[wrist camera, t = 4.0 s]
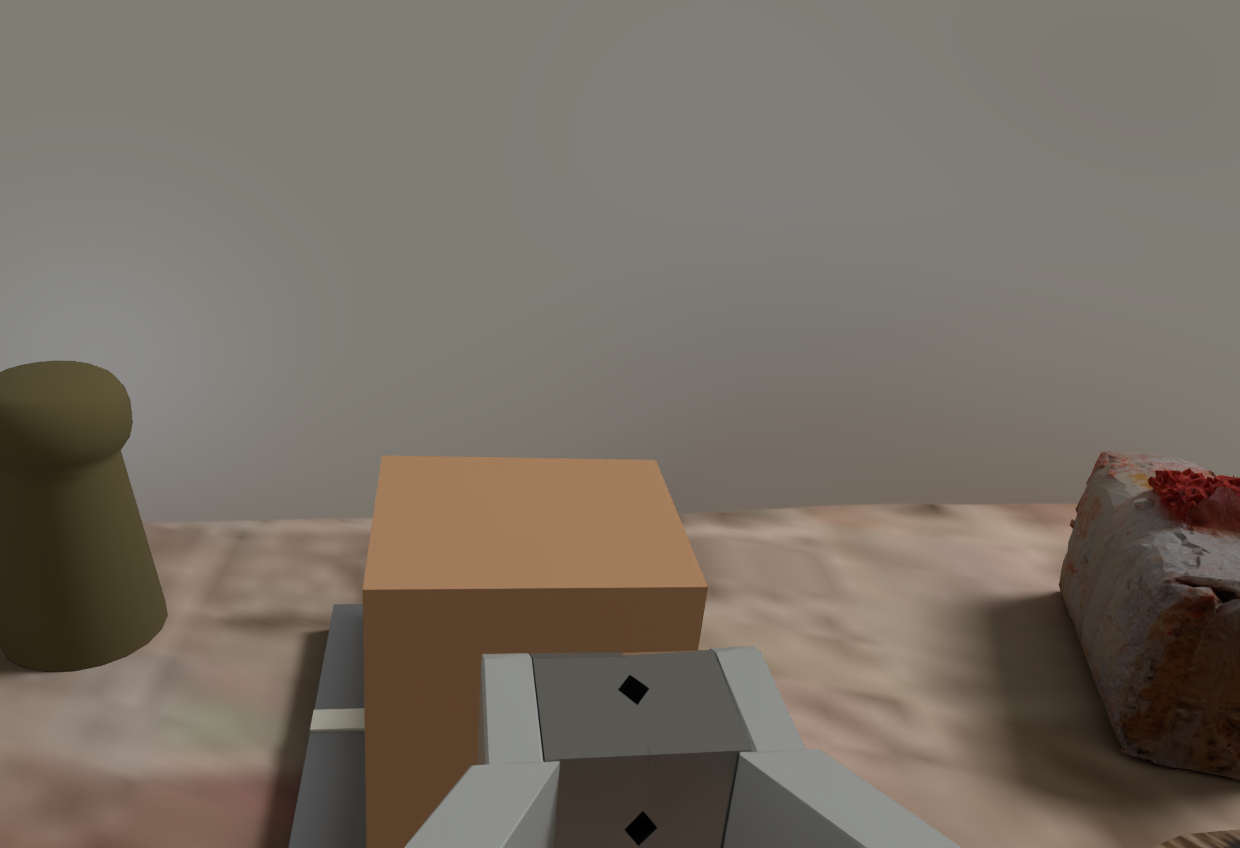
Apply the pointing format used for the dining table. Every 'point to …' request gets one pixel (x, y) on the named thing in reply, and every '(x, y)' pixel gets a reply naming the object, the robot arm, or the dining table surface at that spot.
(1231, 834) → the trivet
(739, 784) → the robot arm
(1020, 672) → the dining table surface
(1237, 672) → the food item
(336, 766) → the base board
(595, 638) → the orange brown tall block
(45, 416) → the cork
